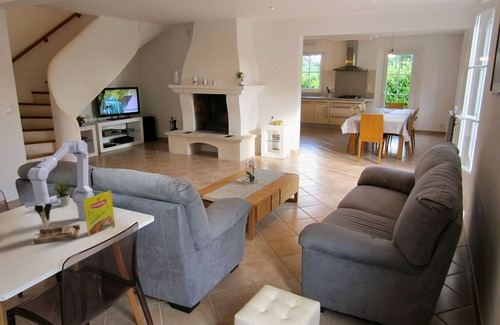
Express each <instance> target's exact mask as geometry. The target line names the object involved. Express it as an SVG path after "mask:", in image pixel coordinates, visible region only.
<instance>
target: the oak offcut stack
mask: <svg viewBox="0 0 500 325" xmlns="http://www.w3.org/2000/svg"><path fill="white" fill-rule="evenodd" d="M70 226H71V225H70ZM74 232H75V228H73V226H71V227H65V228H63V230H62V234H61V236H63V235H71V234H74Z"/></svg>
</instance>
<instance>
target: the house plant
mask: <svg viewBox="0 0 500 325" xmlns="http://www.w3.org/2000/svg"><path fill="white" fill-rule="evenodd" d="M66 181H67V179H65V180H64V182H63V179H59V184H58V183H56V182H53V188H52V191H54V192H53V196H55V195H56V196H55V197H56V199H60V202H61V203H60V204H58V205H59V207H60V208H61V207H62V208H64V206H65V207H68V206H70V193H69V192H70V191H74V187H73V186H74V184H73V183H75V182H72V184H71V181H72V180H69V181H67V183H66ZM57 194H58V195H57Z"/></svg>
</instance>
